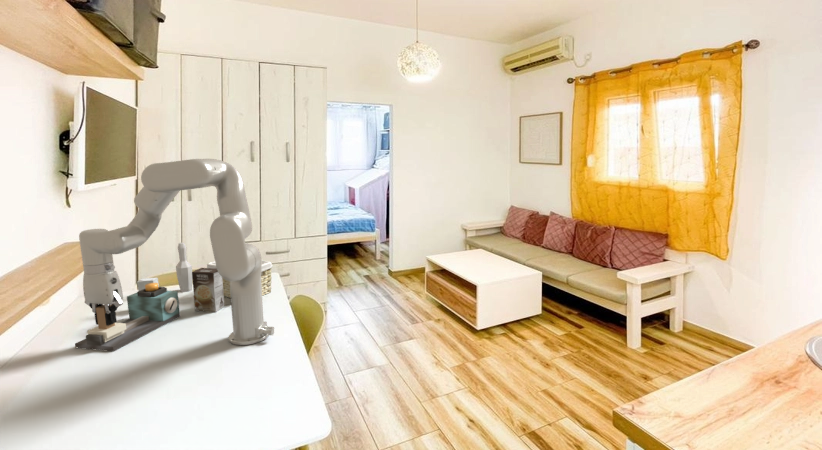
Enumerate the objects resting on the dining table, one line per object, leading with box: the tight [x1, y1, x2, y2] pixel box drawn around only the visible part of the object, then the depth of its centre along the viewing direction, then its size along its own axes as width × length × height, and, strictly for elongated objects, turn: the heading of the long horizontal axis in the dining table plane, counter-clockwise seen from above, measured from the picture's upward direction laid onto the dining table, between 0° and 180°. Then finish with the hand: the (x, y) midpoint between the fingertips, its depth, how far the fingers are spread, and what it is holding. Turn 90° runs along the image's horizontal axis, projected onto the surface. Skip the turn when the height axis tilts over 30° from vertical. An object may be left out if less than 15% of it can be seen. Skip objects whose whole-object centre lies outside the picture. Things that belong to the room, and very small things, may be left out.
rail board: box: [74, 286, 181, 352], centre depth 137 cm, size 15×28×12 cm, turn 170°
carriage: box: [87, 304, 126, 342], centre depth 128 cm, size 7×7×10 cm
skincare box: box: [136, 277, 160, 292], centre depth 158 cm, size 6×4×12 cm
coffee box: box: [192, 267, 225, 313], centre depth 156 cm, size 9×6×16 cm
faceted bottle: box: [175, 242, 193, 293], centre depth 179 cm, size 6×6×22 cm
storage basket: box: [206, 259, 273, 299], centre depth 174 cm, size 24×16×15 cm
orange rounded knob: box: [145, 282, 159, 291], centre depth 145 cm, size 4×4×2 cm
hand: (106, 322), depth 128 cm, fingers closed on carriage, 3 cm apart
